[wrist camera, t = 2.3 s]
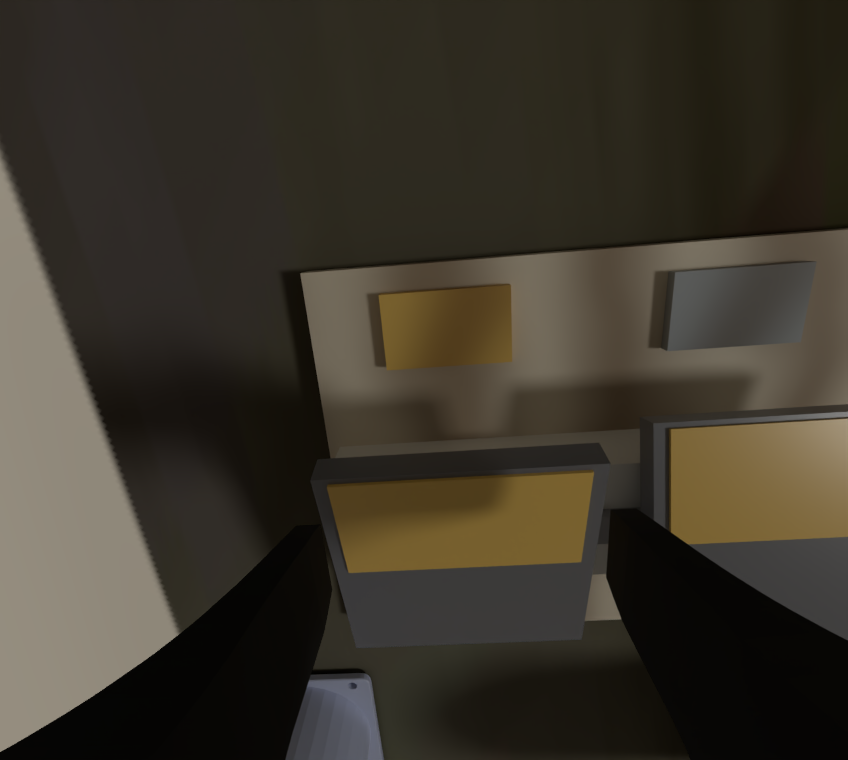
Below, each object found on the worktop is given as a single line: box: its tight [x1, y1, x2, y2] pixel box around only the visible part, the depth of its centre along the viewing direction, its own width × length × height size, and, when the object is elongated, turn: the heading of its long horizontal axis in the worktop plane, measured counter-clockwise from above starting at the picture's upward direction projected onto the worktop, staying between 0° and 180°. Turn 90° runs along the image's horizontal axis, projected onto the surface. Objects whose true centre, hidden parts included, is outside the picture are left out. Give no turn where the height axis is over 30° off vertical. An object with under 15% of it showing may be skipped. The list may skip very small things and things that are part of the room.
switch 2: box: [640, 404, 848, 640], centre depth 15 cm, size 9×9×1 cm
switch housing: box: [335, 429, 641, 575], centre depth 18 cm, size 22×5×4 cm, turn 95°
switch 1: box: [310, 443, 611, 648], centre depth 16 cm, size 9×9×1 cm
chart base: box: [300, 228, 848, 621], centre depth 19 cm, size 23×18×2 cm
